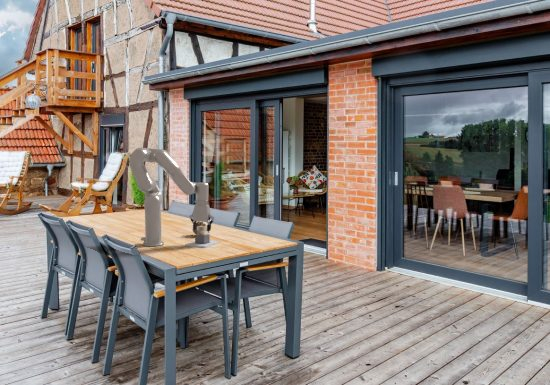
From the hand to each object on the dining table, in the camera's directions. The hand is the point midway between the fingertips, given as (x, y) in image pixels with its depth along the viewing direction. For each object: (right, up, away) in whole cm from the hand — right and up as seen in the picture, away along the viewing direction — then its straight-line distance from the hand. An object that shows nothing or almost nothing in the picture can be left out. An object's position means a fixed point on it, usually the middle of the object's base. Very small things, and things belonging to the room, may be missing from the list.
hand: (201, 230), depth 299 cm
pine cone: (-3, -7, +27) cm, 28 cm away
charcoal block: (0, -8, +1) cm, 8 cm away
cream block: (0, -3, 0) cm, 3 cm away
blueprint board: (0, -9, +1) cm, 9 cm away
